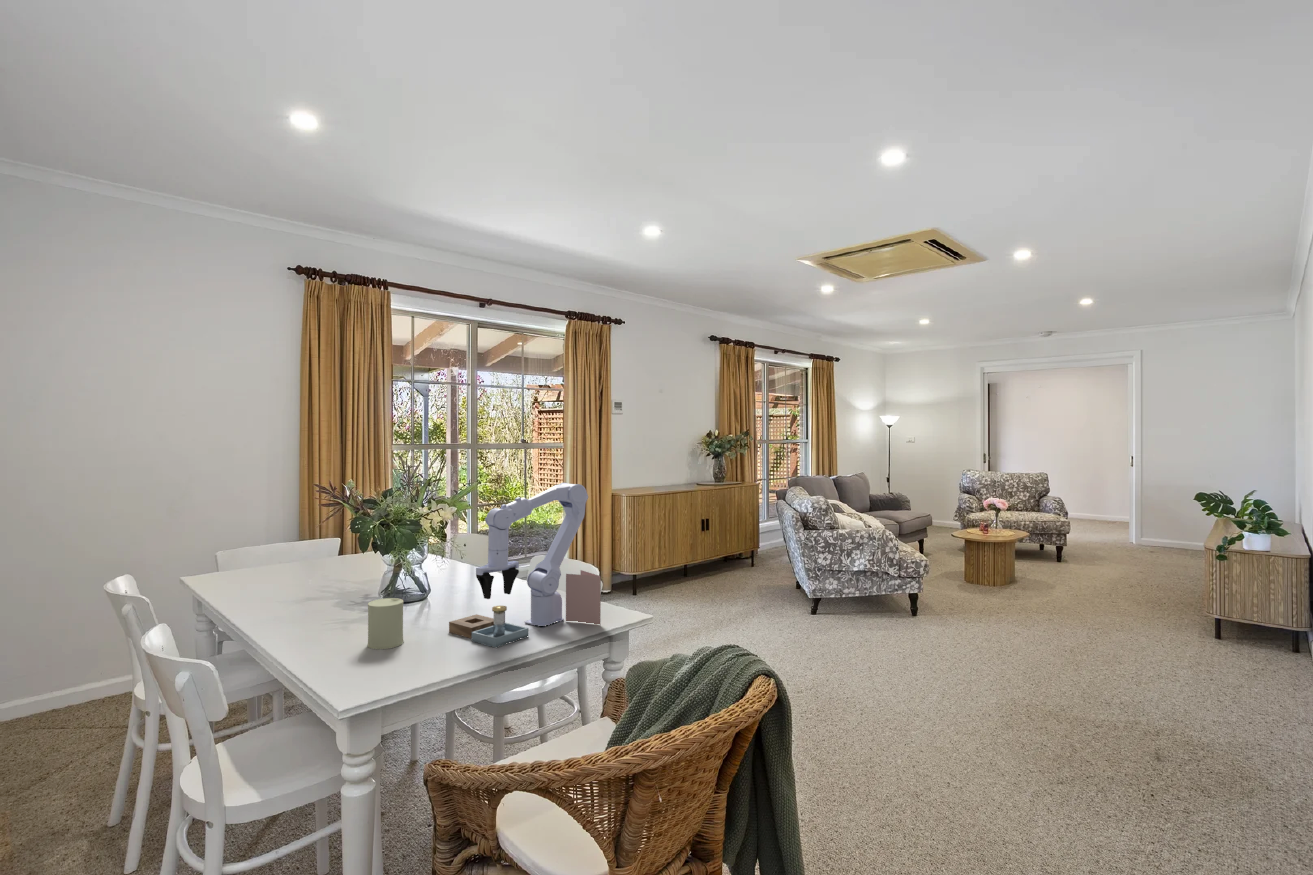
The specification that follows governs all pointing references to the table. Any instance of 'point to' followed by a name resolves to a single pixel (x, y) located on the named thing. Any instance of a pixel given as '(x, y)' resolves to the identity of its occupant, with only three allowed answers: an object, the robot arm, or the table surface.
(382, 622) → the can
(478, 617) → the pin stand
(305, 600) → the table surface
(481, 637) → the tray
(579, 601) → the greeting card
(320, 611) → the table surface
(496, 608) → the pin
